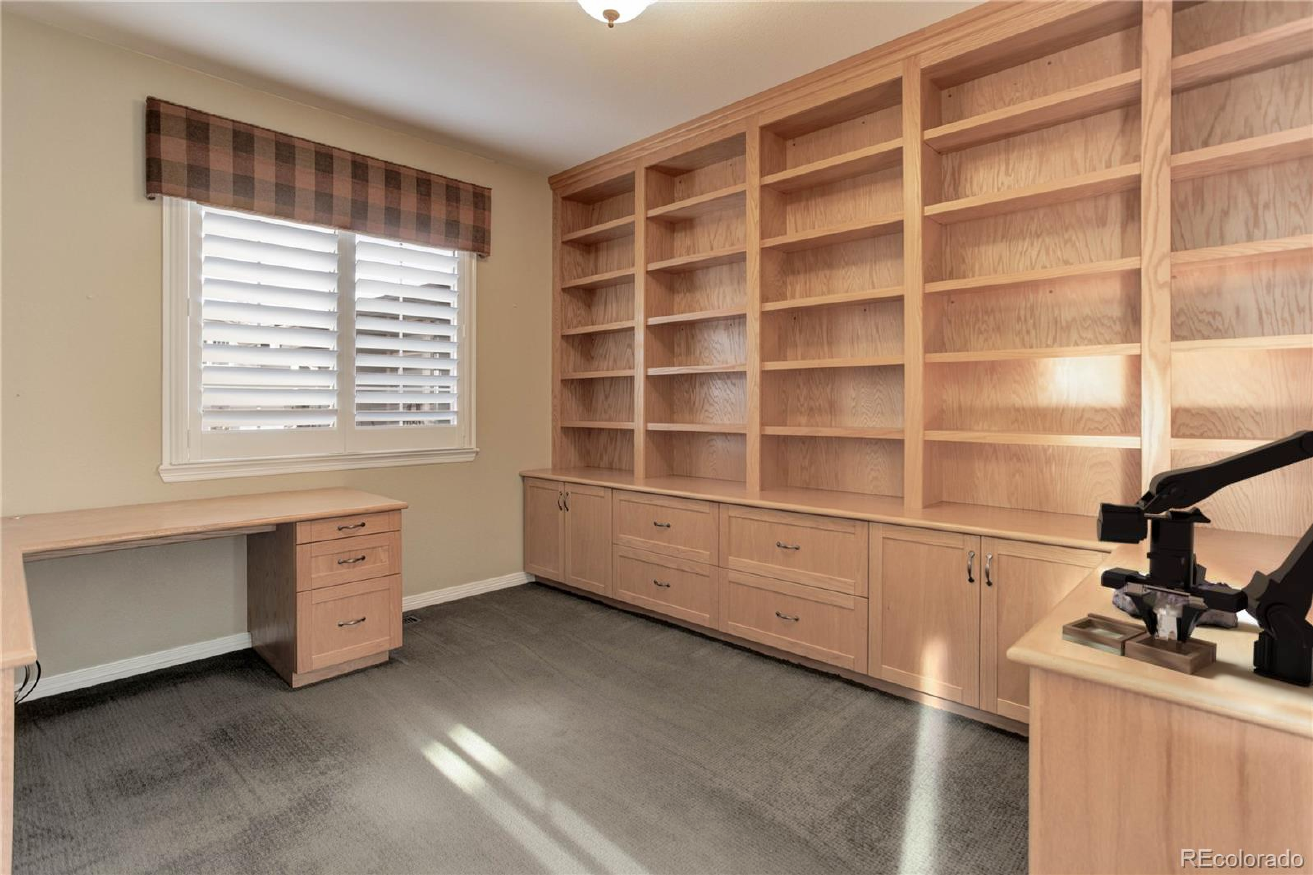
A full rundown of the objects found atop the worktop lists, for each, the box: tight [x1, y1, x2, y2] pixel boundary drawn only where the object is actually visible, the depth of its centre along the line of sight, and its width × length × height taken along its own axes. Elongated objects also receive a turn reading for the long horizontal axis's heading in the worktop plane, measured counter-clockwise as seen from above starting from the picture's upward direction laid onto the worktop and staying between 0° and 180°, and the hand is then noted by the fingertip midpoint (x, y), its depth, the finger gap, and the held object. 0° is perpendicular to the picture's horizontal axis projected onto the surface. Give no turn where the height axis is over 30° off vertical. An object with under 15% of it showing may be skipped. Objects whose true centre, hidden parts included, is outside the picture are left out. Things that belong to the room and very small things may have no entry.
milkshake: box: [1153, 604, 1183, 655], centre depth 108 cm, size 4×5×10 cm
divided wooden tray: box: [1061, 612, 1218, 675], centre depth 113 cm, size 19×11×3 cm, turn 32°
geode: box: [1111, 573, 1239, 630], centre depth 130 cm, size 20×12×10 cm, turn 60°
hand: (1168, 638), depth 108 cm, fingers closed on milkshake, 4 cm apart
